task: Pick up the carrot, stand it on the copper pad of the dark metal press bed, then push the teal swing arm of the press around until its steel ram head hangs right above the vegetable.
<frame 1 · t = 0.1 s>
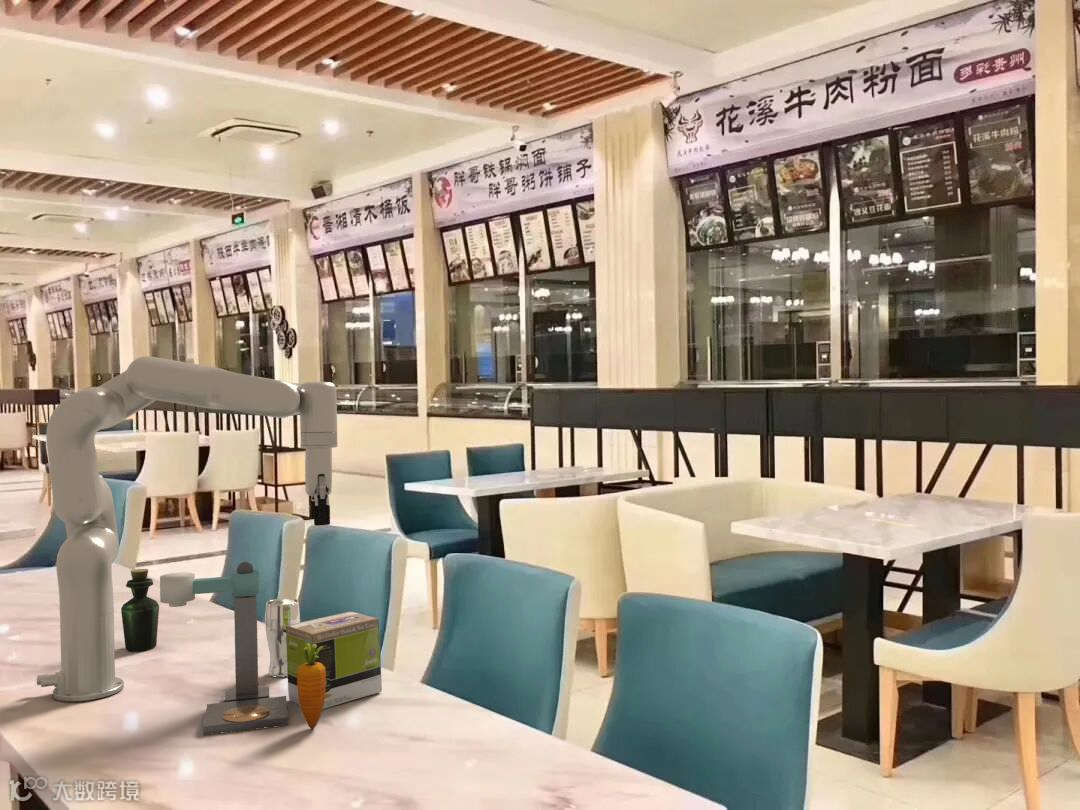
hand: (320, 521, 196), 31 cm above the table, tool pointing down, fingers open, 9 cm apart
carrot: (312, 730, 162), on the table
potion bottle: (141, 649, 215), on the table
tea box: (334, 698, 179), on the table
press: (246, 715, 169), on the table
press arm: (210, 583, 174), point 23 cm above the table, hinge at 0.0°
beer glass: (283, 674, 194), on the table
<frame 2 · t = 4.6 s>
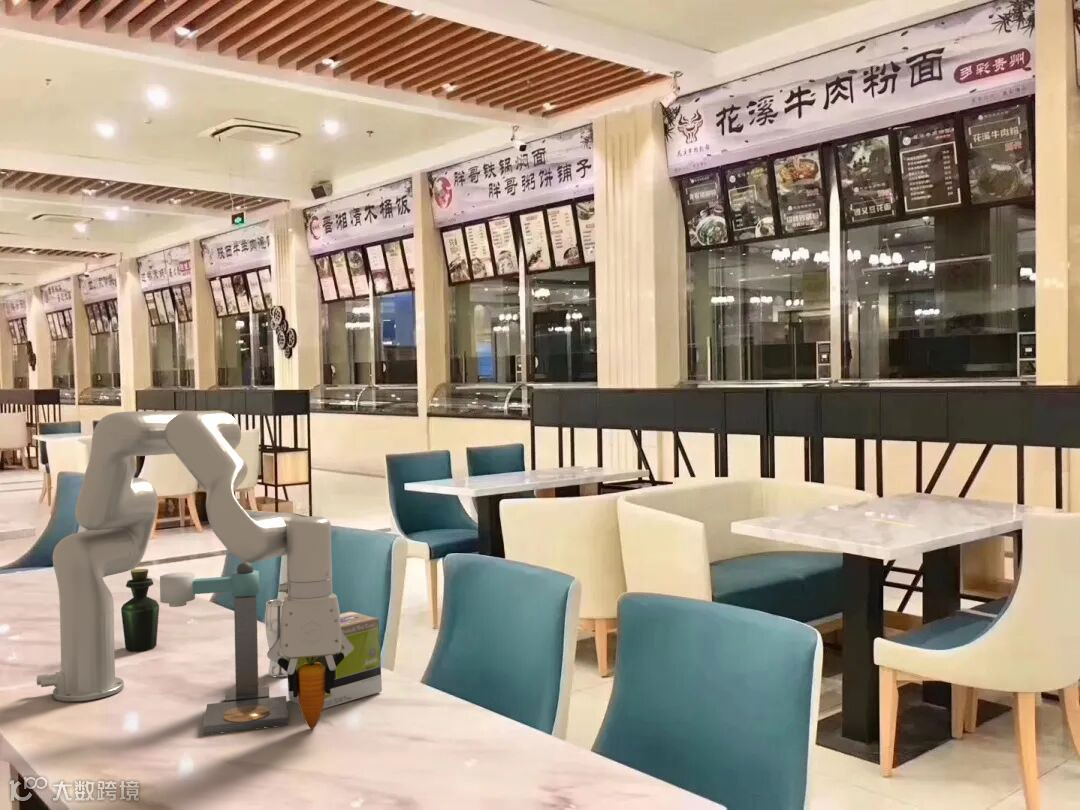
hand: (311, 692, 161), 6 cm above the table, tool pointing down, fingers closed on carrot, 4 cm apart
carrot: (312, 730, 162), on the table, touching gripper
everything else where it was.
when the fingers open (9 cm above the table, at t = 10.0 s): carrot drops 1 cm, resting on press.
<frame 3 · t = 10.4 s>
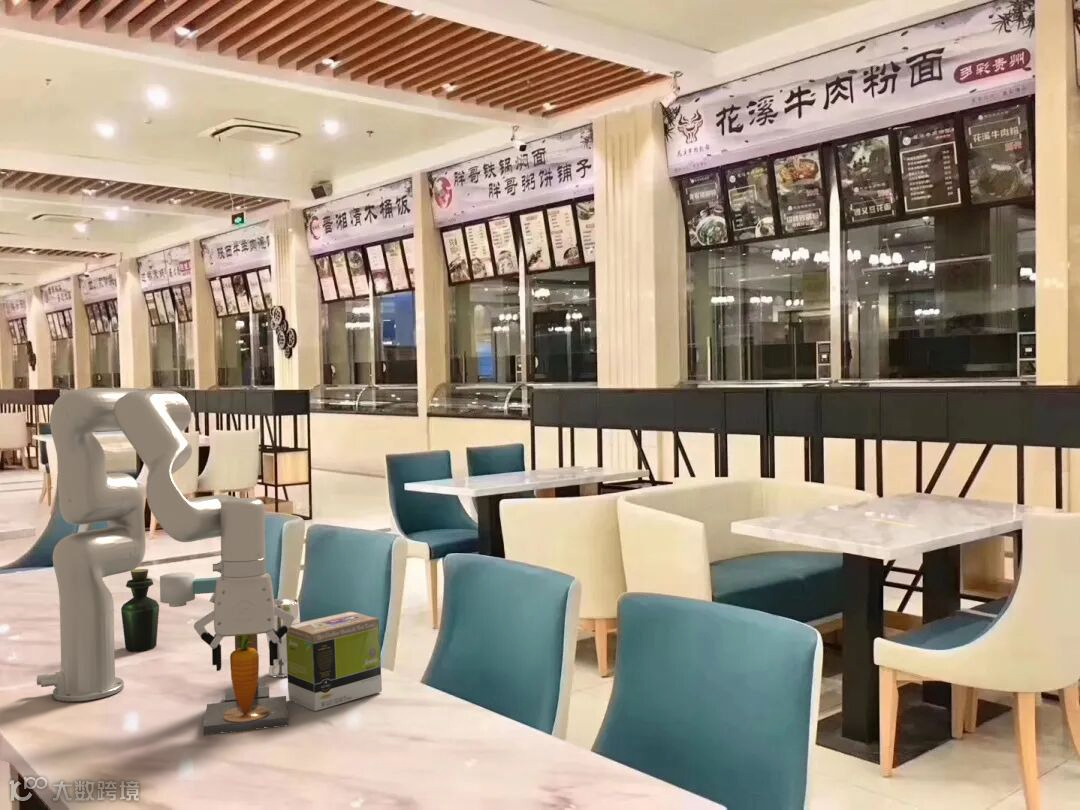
hand: (245, 665, 165), 10 cm above the table, tool pointing down, fingers open, 8 cm apart
carrot: (245, 713, 165), point 2 cm above the table, touching press
everything else where it was.
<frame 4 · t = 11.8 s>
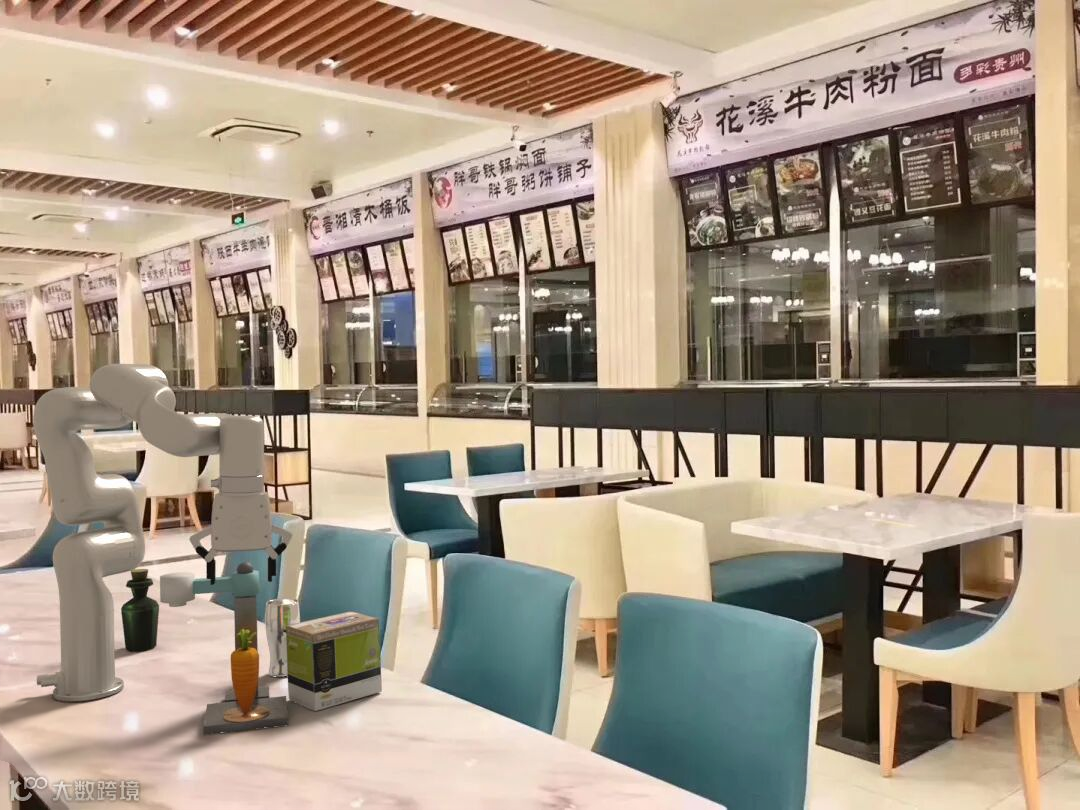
hand: (241, 581, 165), 25 cm above the table, tool pointing down, fingers open, 9 cm apart
nothing on the table moved.
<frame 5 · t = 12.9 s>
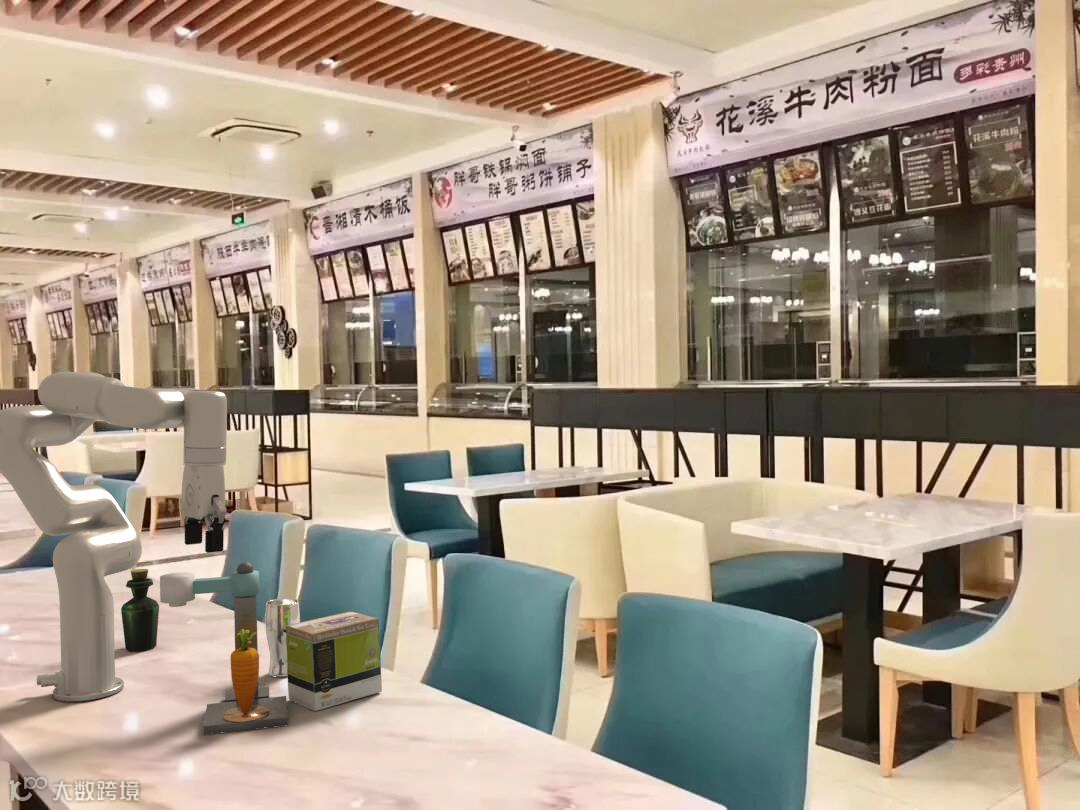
hand: (203, 547, 174), 30 cm above the table, tool pointing down, fingers open, 9 cm apart
nothing on the table moved.
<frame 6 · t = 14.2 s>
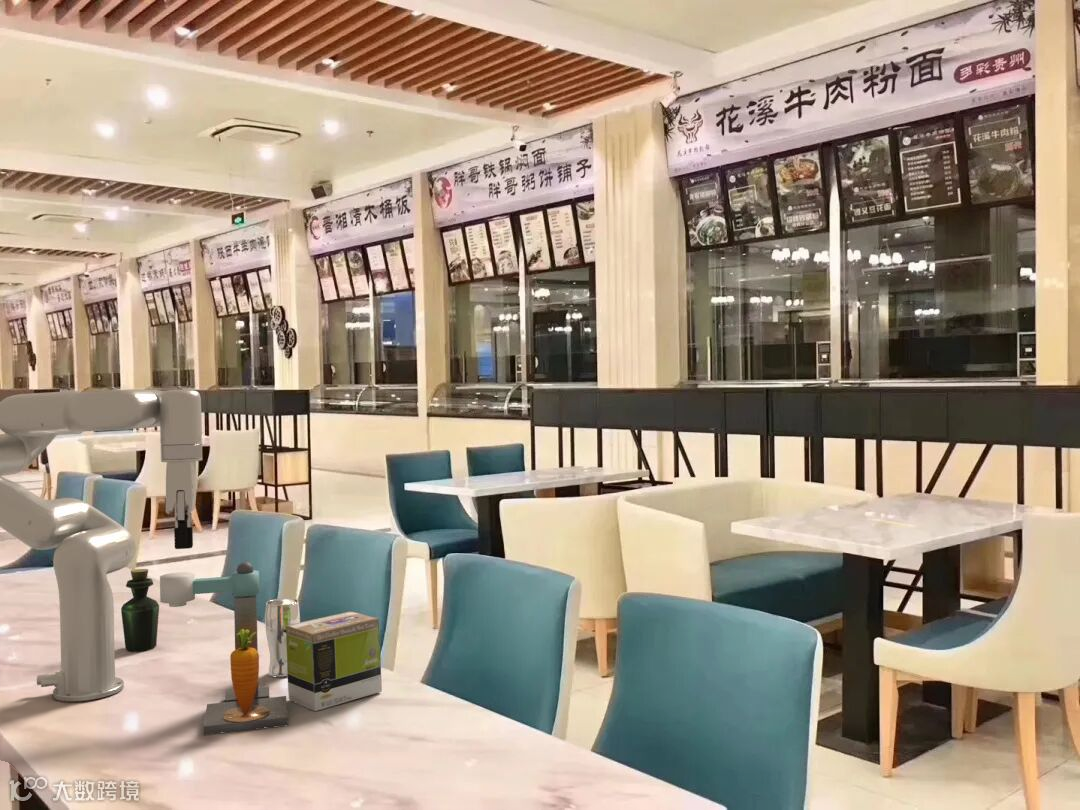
hand: (183, 547, 180), 29 cm above the table, tool pointing down, fingers closed
nothing on the table moved.
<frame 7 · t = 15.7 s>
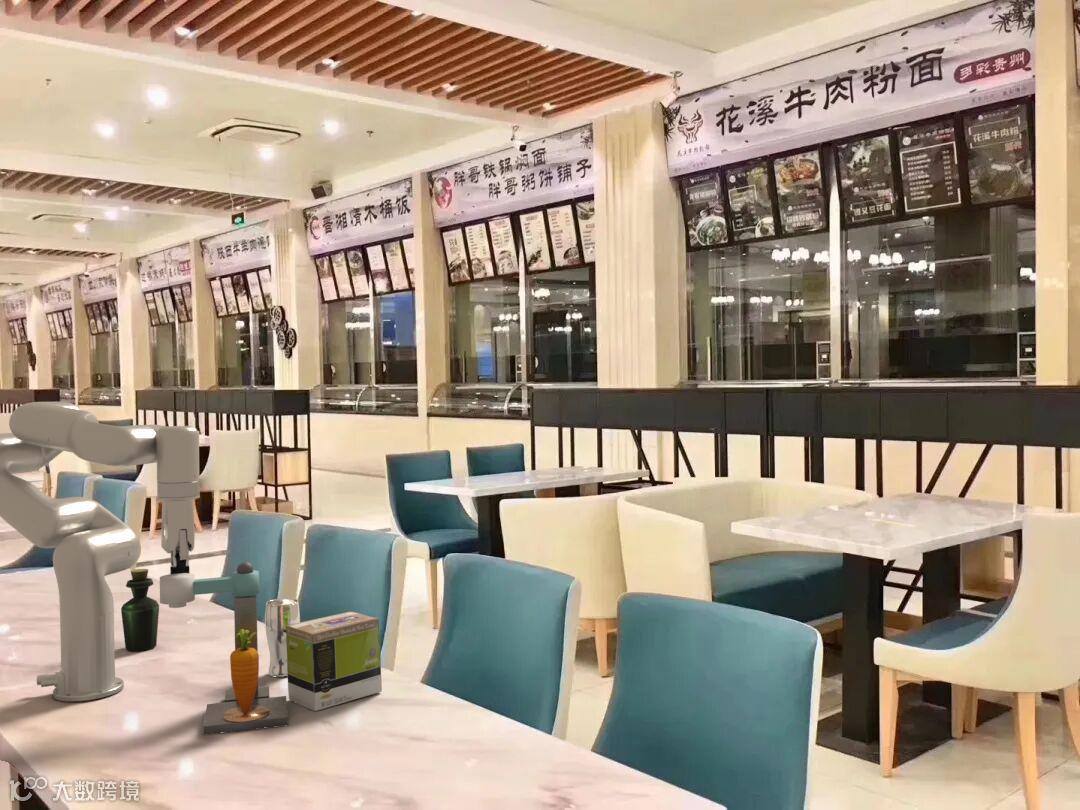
hand: (180, 587, 177), 22 cm above the table, tool pointing down, fingers closed
press arm: (210, 583, 174), point 23 cm above the table, hinge at 3.9°, touching gripper
everything else where it was.
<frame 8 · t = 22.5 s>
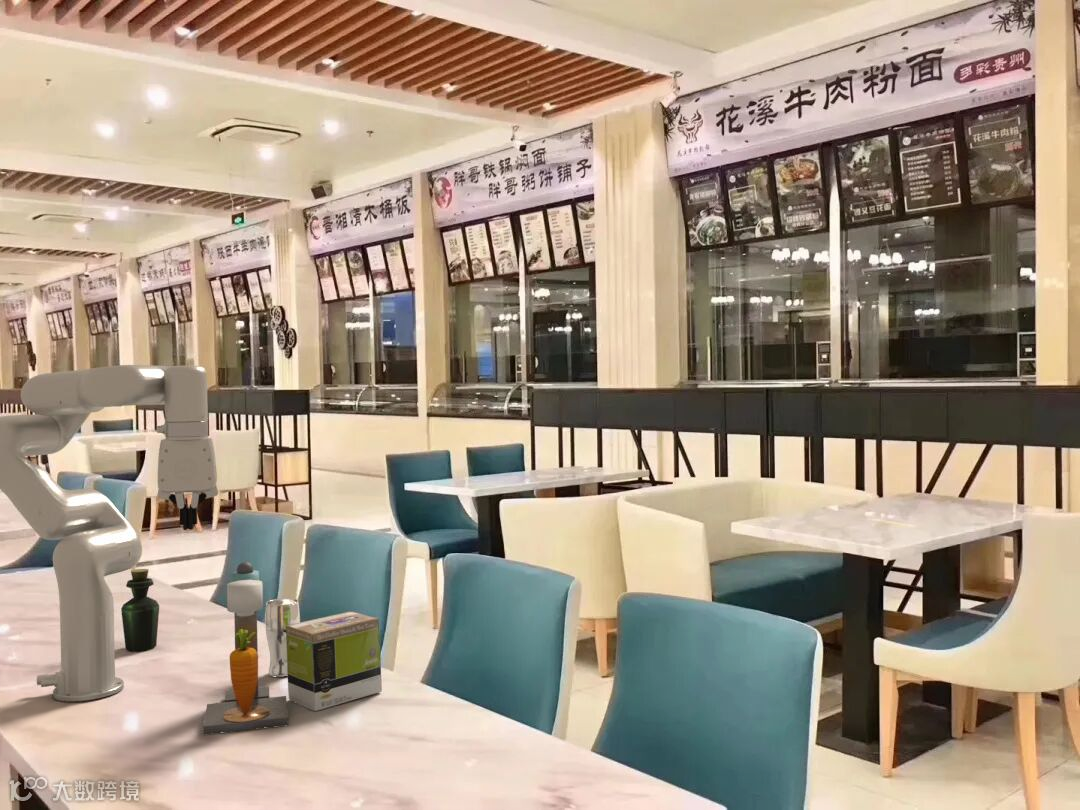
hand: (188, 528, 175), 33 cm above the table, tool pointing down, fingers closed
press arm: (245, 587, 170), point 23 cm above the table, hinge at 90.6°
everything else where it was.
at the end: carrot 0.1 cm from the target spot on the press, point 1.5 cm above the press's base; carrot tilted 1°; press arm at +91° (first picture: +0°) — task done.
